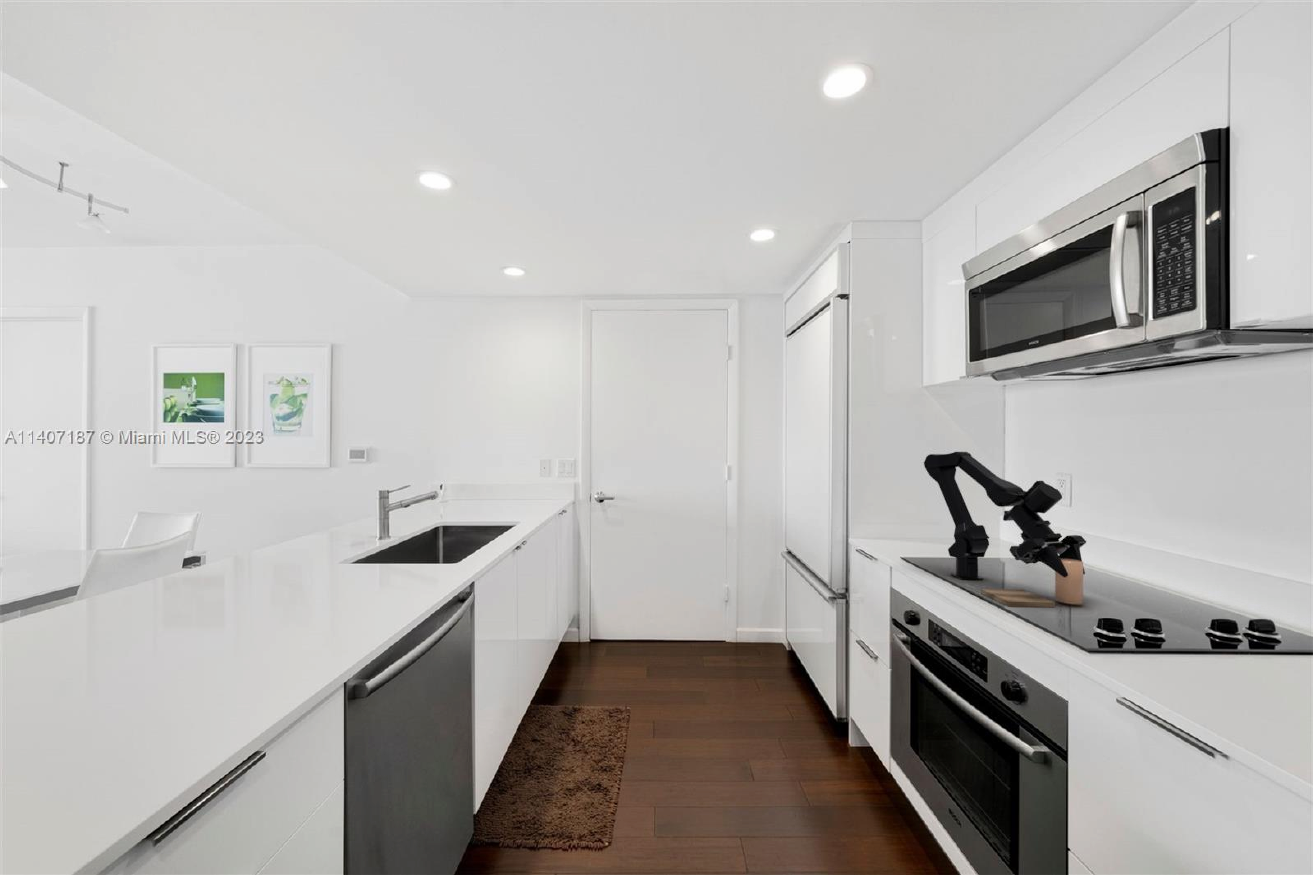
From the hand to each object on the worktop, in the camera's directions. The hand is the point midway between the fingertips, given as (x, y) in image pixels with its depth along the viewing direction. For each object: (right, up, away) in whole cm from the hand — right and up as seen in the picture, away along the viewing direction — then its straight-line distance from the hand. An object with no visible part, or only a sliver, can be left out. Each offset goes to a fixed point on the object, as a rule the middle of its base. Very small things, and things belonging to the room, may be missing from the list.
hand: (1074, 575), depth 137 cm
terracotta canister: (-1, -7, +1) cm, 7 cm away
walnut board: (-12, -7, +4) cm, 14 cm away
